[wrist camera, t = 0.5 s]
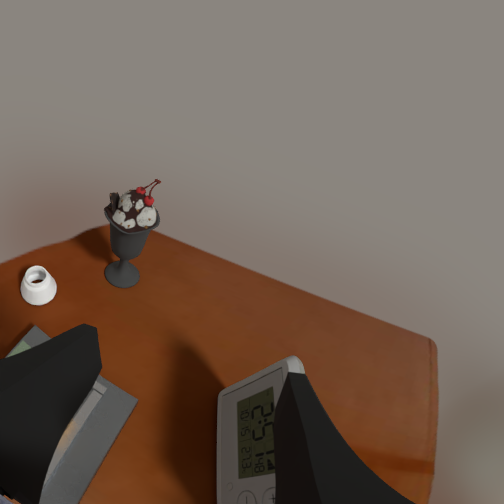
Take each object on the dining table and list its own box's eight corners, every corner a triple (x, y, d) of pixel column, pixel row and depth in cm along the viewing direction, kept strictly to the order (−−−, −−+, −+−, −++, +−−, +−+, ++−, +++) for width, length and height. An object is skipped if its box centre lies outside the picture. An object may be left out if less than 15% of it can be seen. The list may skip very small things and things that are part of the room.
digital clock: (219, 385, 32) (256, 336, 26) (288, 407, 33) (340, 366, 27) (184, 515, 18) (219, 519, 12) (272, 530, 19) (337, 529, 13)
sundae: (155, 281, 39) (182, 187, 31) (115, 300, 34) (131, 199, 26) (129, 252, 41) (149, 159, 33) (90, 266, 36) (100, 167, 28)
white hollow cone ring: (18, 281, 29) (26, 311, 27) (14, 265, 27) (22, 296, 25) (50, 272, 32) (61, 300, 31) (49, 256, 31) (60, 284, 29)
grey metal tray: (63, 530, 12) (60, 531, 11) (-46, 432, 12) (-54, 427, 11) (137, 403, 26) (138, 397, 25) (36, 330, 26) (34, 322, 25)
